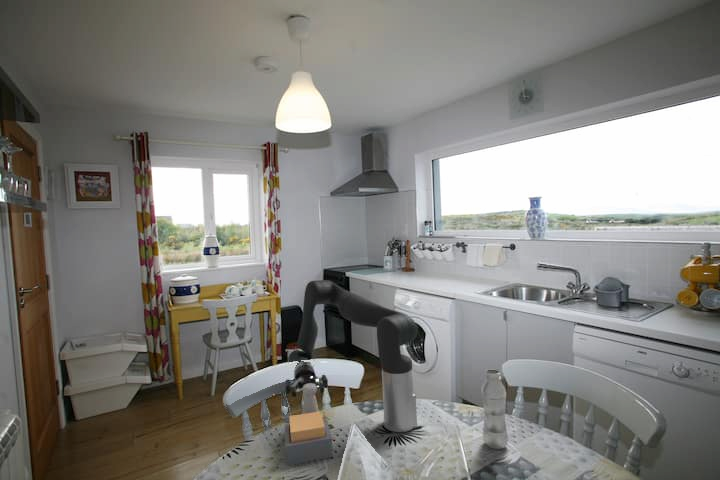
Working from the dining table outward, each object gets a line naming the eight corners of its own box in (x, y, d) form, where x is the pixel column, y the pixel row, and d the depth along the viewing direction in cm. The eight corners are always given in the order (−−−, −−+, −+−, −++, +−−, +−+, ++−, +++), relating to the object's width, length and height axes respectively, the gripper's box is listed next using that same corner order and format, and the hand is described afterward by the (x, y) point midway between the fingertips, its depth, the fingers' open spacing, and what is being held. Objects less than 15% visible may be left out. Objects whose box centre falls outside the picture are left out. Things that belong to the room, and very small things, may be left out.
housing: (326, 433, 109) (325, 416, 109) (332, 456, 98) (331, 438, 98) (285, 440, 107) (284, 423, 107) (286, 465, 95) (285, 446, 95)
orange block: (321, 423, 107) (320, 411, 107) (325, 439, 99) (324, 426, 99) (289, 428, 105) (289, 416, 105) (291, 445, 97) (290, 432, 97)
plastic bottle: (482, 450, 97) (479, 375, 97) (483, 436, 104) (480, 366, 103) (509, 454, 95) (506, 377, 95) (508, 440, 101) (505, 368, 101)
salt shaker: (317, 432, 110) (315, 389, 110) (299, 431, 111) (296, 388, 111) (323, 422, 116) (321, 381, 115) (305, 421, 117) (303, 380, 116)
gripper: (284, 366, 135) (285, 384, 119) (323, 362, 138) (329, 378, 122) (285, 387, 135) (286, 407, 119) (324, 382, 138) (330, 400, 122)
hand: (308, 392), depth 120 cm, fingers open, 8 cm apart
